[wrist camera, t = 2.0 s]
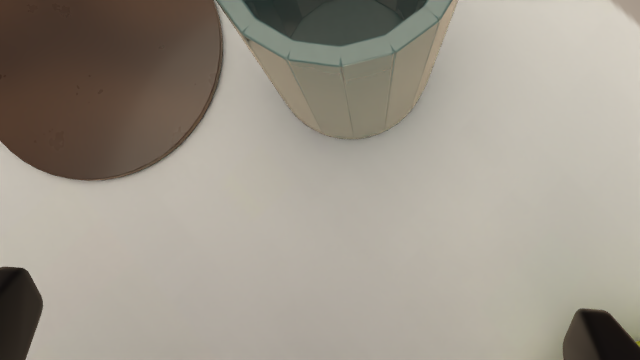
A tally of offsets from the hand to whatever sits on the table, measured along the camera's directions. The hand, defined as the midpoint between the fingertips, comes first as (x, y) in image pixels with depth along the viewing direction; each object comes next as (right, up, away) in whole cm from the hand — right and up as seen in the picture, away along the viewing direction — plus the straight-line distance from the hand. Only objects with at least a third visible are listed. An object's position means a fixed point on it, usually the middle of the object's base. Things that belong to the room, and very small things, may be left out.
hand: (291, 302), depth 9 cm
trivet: (-9, +7, +15) cm, 19 cm away
